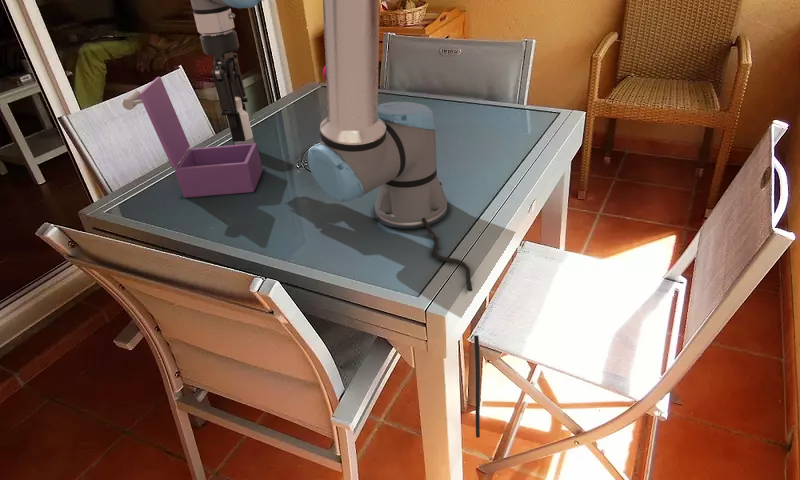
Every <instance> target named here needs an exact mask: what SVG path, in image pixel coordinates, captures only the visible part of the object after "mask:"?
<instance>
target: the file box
mask: <svg viewBox="0 0 800 480" xmlns="http://www.w3.org/2000/svg"><path fill="white" fill-rule="evenodd" d="M263 171H264V169H263V165H262V160H261V156H260V152H259V148H258V144H257V142H254V143H252V144H240V145H236V144H230V145H217V146H207V147H206V146H205V147H192V148H189V149H188V150H187V152H186V153H185V155H184V156H183V157H182V159H181V160H180V162H179V163H178V164H177V166H176V167H174V172H175V175H176V178H177V182H178V184H179V188H180V190H181V195H182V197H183V198H198V197H210V196H221V195H233V194H245V193H254V192H255V191H256V189H257V186H258V183H259V181H260V178H261V175H262V173H263Z"/></svg>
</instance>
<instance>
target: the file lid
mask: <svg viewBox="0 0 800 480" xmlns="http://www.w3.org/2000/svg"><path fill="white" fill-rule="evenodd" d="M121 104H122V107H123V108H124V109H125V110H128V111H132V110H133V109H134V108H135V107H137V105H141V104H143V107H144V109H145V111H146V113H147V115H148V118H149V120H150V122H151V125H152V127H153V129H154V131H155V133H156V135H157V137H158V140H159V142H160V144H161V147H162V148H163V151H164V153H165V156H166V157H167V160H168V162H169V164H170V166H171V168H172V169H175V168H176V167H177V166H178V164H179V163H180V161H181V160H182V158H183V157H184V156H185V154H186V153H187V151H188V150H189V149H190V148H191V145H190V143H189V140H188V138H187V136H186V134H185V131H184V129H183V126H182V124H181V121H180V119H179V117H178V115H177V112H176V110H175V108H174V106H173V103H172V100H171V99H170V96H169V94H168V91H167V89H166V87H165V85H164V82H163V79H162V77H161V76H157V77H156V78H154V79H153V80H152V81H151V82H150V83H149V84H148V85H146V86H145V88H143V89H142V90H141V91H140V90H134V91H133V92H131V93H130V94H129V95H128V96H127V97H126V98H125V99H124V100H123V101H122V103H121Z"/></svg>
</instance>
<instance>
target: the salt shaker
mask: <svg viewBox="0 0 800 480" xmlns="http://www.w3.org/2000/svg"><path fill="white" fill-rule="evenodd" d="M235 101H236V107H237V113H238V112H239V114H240V118H241V123H242V127H243V131H244V135H245V140H248V139H251V138H253V139H254V134H253V130H252V126H251V121H250V118H249V113H248V111H247V110H246V111H247V112H246V111H244V110H243V108H242V102H241V98H240V97H235ZM225 117H226V118H227V116H226V115H225ZM226 120H227V119H226ZM227 122H228V120H227ZM227 124H228V123H227ZM228 126H229V124H228ZM228 129H229V130H230V128H229V127H228ZM229 132H230V131H229ZM230 134H231V132H230ZM230 137H231V138H232V136H231V135H230ZM240 142H242V141H240Z"/></svg>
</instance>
